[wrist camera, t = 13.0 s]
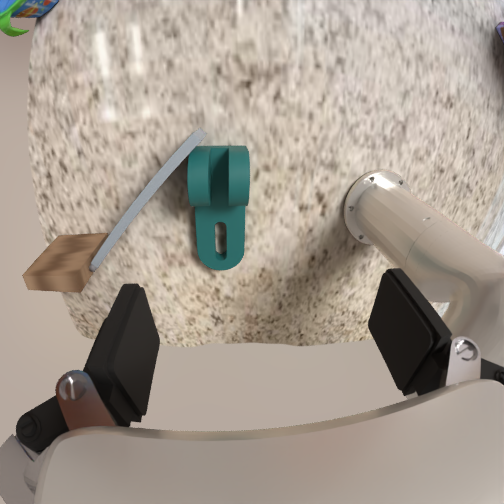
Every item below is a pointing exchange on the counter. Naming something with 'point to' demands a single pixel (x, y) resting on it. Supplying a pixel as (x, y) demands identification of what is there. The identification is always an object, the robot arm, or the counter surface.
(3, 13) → the snack cup
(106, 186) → the counter surface
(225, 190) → the bracket
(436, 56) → the counter surface
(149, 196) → the door
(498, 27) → the cereal box
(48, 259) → the brown wooden block
